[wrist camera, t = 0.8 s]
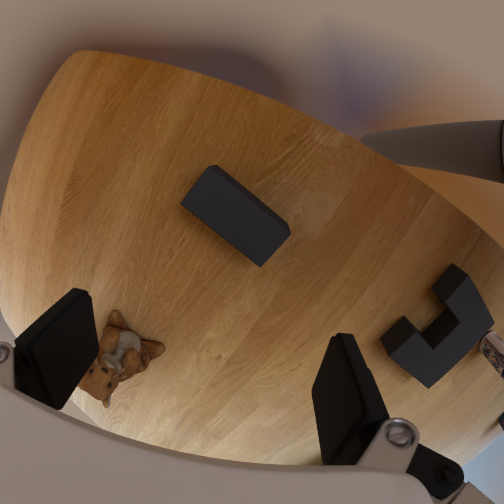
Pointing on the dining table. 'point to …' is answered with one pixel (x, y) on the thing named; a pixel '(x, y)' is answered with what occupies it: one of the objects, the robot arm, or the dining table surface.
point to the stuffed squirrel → (117, 359)
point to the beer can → (494, 351)
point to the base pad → (441, 330)
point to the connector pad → (236, 215)
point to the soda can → (501, 421)
